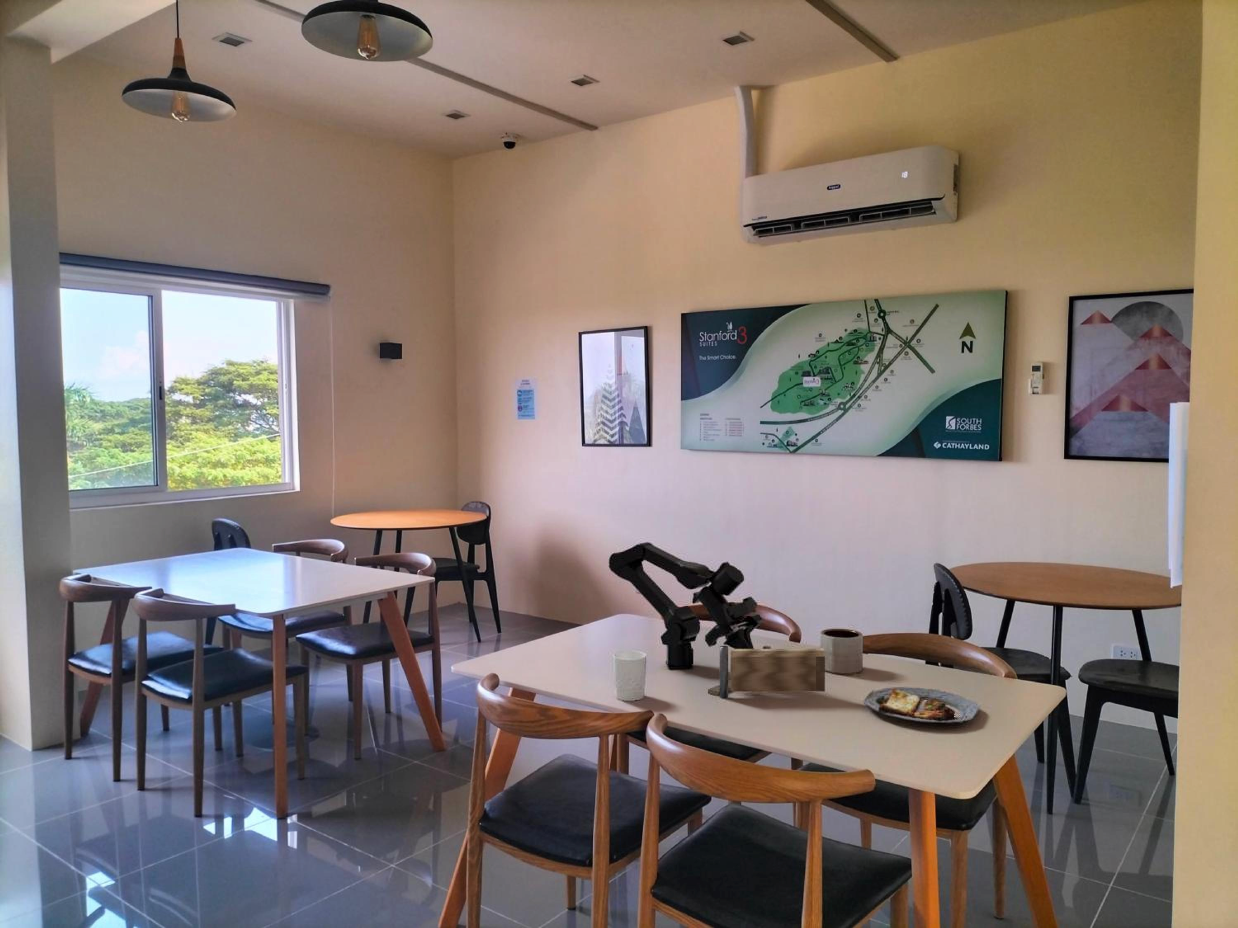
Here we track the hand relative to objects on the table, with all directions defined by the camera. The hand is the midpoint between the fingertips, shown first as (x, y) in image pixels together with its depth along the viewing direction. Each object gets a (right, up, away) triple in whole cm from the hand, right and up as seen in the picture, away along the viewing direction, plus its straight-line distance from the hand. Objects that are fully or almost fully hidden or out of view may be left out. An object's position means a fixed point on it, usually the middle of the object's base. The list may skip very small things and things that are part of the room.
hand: (754, 657), depth 213 cm
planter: (+25, -6, +12) cm, 28 cm away
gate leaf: (+4, -5, -10) cm, 12 cm away
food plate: (+34, -8, -21) cm, 41 cm away
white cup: (-31, -7, -10) cm, 33 cm away
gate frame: (-2, -7, 0) cm, 7 cm away
